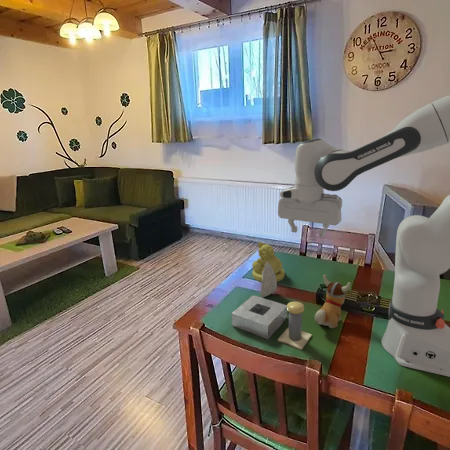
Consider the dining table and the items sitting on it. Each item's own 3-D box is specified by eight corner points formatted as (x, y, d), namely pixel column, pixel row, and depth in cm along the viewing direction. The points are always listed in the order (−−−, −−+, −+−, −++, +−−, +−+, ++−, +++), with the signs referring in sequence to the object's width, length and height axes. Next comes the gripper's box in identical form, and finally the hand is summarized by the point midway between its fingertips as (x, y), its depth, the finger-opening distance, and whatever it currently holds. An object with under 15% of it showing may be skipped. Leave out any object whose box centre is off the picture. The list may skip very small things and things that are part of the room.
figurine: (246, 277, 148) (244, 246, 143) (264, 265, 158) (263, 236, 153) (273, 286, 138) (273, 253, 134) (290, 273, 149) (291, 242, 144)
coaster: (311, 335, 106) (311, 334, 105) (301, 349, 100) (301, 348, 99) (288, 328, 110) (288, 326, 110) (277, 340, 104) (277, 339, 104)
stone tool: (263, 301, 127) (262, 265, 123) (258, 298, 130) (257, 263, 125) (279, 293, 132) (278, 259, 127) (273, 290, 134) (273, 257, 130)
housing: (287, 318, 116) (287, 305, 114) (267, 339, 105) (267, 326, 104) (253, 306, 124) (253, 295, 122) (232, 325, 113) (231, 313, 112)
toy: (352, 317, 114) (355, 278, 109) (330, 339, 104) (333, 297, 99) (326, 308, 120) (328, 270, 116) (304, 327, 110) (305, 287, 106)
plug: (306, 335, 105) (306, 304, 102) (299, 344, 101) (300, 312, 98) (291, 330, 108) (291, 300, 105) (284, 338, 104) (284, 307, 101)
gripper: (345, 193, 99) (343, 236, 103) (284, 188, 111) (284, 227, 115) (339, 197, 94) (336, 242, 99) (275, 191, 106) (275, 232, 110)
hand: (307, 234), depth 107 cm, fingers open, 8 cm apart
